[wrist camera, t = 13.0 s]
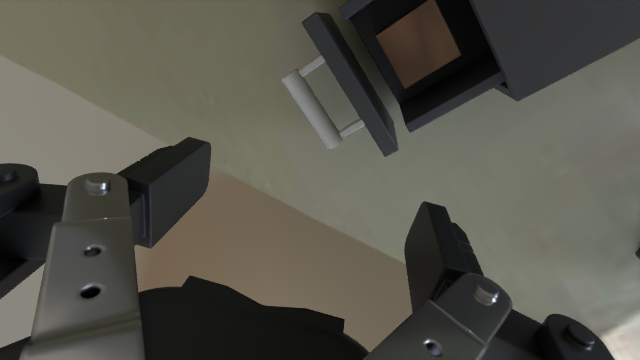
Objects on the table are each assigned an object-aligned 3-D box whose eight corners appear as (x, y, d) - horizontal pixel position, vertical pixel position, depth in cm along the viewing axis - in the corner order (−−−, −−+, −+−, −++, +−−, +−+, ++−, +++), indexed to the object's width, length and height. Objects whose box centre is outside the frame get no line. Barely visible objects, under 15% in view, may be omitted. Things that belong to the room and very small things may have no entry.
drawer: (345, 149, 34) (338, 182, 27) (280, 50, 31) (253, 59, 24) (525, 46, 28) (575, 56, 21) (467, -92, 24) (505, -136, 17)
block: (424, -1, 26) (375, 33, 28) (433, -5, 22) (375, 36, 24) (449, 49, 28) (400, 79, 29) (462, 55, 24) (404, 89, 25)
